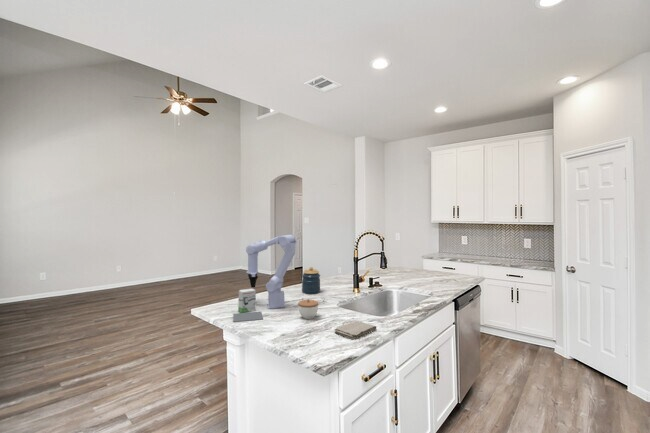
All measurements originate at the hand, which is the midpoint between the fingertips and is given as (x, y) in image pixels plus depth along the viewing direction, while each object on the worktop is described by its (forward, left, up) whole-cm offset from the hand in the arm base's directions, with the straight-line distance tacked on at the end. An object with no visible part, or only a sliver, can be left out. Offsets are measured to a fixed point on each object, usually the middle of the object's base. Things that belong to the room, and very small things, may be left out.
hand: (252, 286), depth 192 cm
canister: (-41, -17, -11) cm, 46 cm away
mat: (+4, +25, -10) cm, 28 cm away
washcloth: (-44, +60, -11) cm, 75 cm away
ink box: (+4, +14, -11) cm, 18 cm away
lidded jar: (-27, +34, -11) cm, 45 cm away
